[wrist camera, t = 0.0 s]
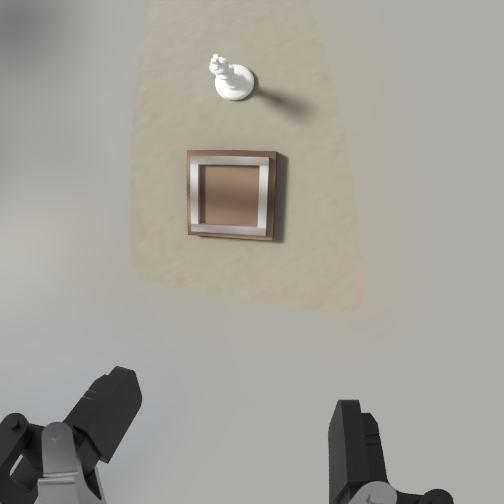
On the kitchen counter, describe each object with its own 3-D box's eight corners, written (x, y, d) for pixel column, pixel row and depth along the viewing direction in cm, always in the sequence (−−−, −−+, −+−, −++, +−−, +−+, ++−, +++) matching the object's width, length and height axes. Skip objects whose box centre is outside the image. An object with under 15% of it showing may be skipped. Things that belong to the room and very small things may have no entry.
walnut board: (191, 150, 36) (184, 150, 34) (276, 151, 34) (275, 151, 32) (191, 231, 40) (185, 236, 37) (272, 237, 38) (271, 242, 36)
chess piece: (254, 64, 31) (239, 36, 22) (254, 99, 33) (239, 81, 23) (215, 67, 32) (189, 41, 22) (215, 101, 33) (188, 85, 24)
